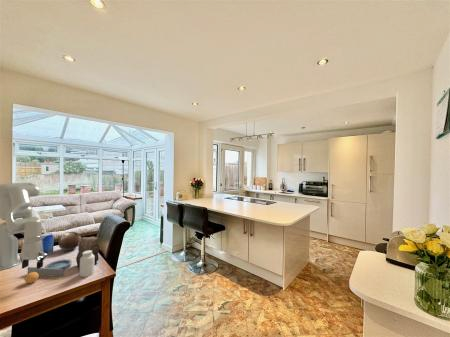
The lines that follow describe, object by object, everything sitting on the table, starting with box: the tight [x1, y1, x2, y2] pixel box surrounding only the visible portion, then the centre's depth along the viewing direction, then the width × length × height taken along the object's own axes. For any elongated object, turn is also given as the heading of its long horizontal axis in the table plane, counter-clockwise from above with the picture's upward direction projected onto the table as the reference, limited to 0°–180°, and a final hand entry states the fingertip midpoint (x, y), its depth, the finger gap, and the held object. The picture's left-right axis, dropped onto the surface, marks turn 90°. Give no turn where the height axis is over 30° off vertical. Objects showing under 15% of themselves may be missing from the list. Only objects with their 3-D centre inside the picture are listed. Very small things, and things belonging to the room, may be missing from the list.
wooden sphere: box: [58, 231, 82, 251], centre depth 161 cm, size 15×15×15 cm
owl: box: [75, 235, 100, 271], centre depth 137 cm, size 13×13×20 cm
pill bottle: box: [79, 250, 95, 278], centre depth 125 cm, size 8×8×15 cm
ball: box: [24, 272, 40, 284], centre depth 115 cm, size 6×6×6 cm
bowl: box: [43, 259, 73, 271], centre depth 132 cm, size 14×14×2 cm
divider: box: [27, 266, 64, 278], centre depth 123 cm, size 24×1×4 cm, turn 86°
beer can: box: [41, 232, 55, 256], centre depth 153 cm, size 8×8×16 cm
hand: (32, 267), depth 115 cm, fingers open, 9 cm apart
